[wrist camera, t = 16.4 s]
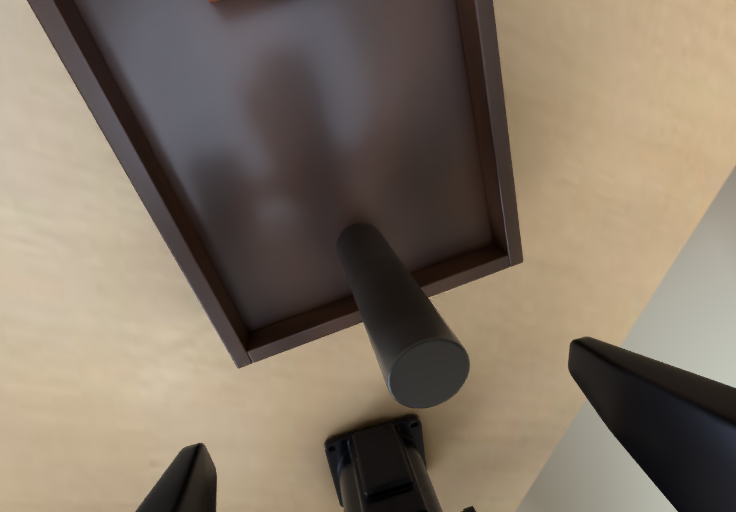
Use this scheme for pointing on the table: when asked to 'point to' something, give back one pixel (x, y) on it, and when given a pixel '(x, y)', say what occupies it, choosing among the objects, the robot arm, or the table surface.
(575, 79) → the table surface
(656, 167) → the table surface
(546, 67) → the table surface
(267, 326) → the tray
